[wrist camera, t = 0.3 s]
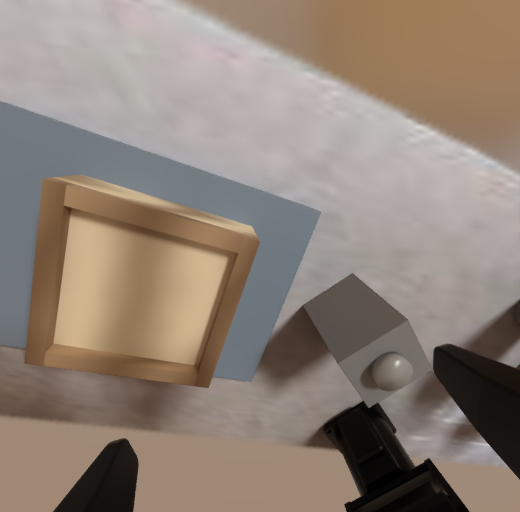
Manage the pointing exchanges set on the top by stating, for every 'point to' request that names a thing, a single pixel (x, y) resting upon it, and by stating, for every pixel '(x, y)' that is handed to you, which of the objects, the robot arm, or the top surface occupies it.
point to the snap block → (368, 339)
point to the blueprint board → (151, 183)
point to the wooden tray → (133, 283)
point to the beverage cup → (517, 314)
